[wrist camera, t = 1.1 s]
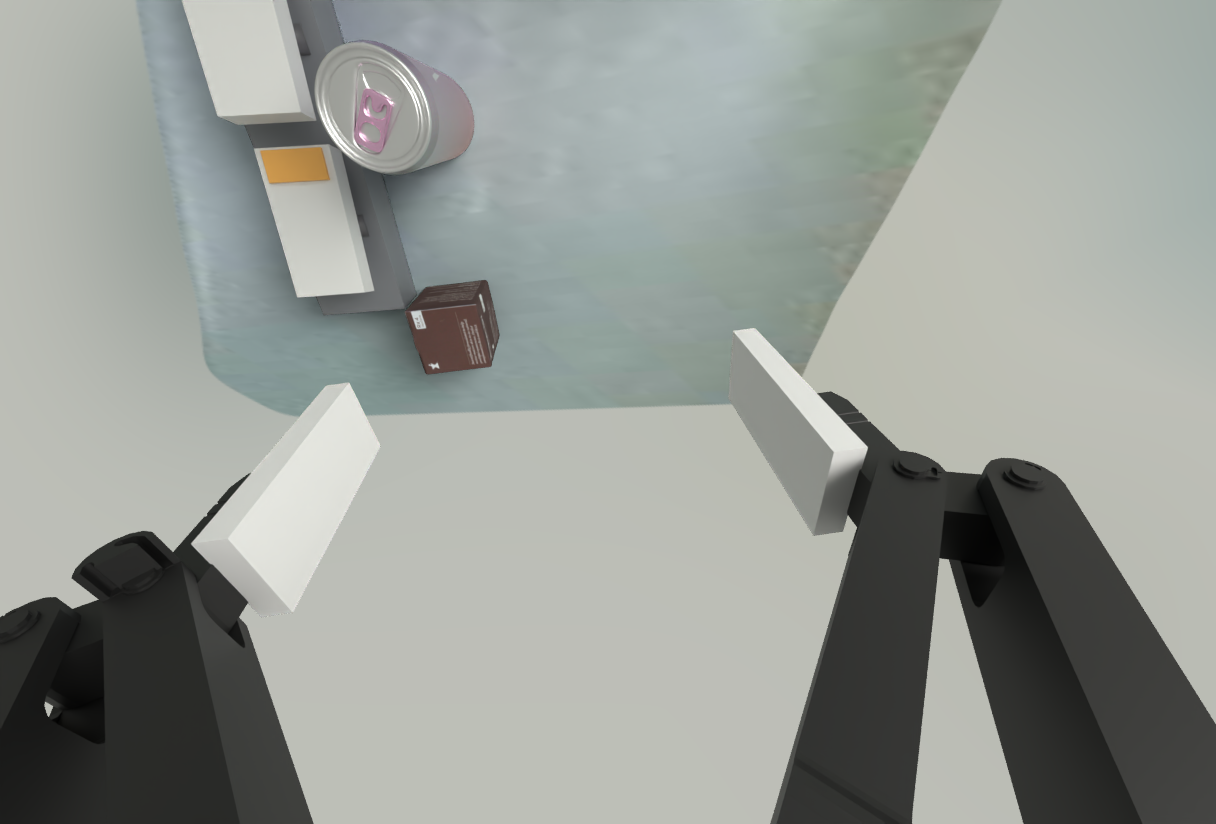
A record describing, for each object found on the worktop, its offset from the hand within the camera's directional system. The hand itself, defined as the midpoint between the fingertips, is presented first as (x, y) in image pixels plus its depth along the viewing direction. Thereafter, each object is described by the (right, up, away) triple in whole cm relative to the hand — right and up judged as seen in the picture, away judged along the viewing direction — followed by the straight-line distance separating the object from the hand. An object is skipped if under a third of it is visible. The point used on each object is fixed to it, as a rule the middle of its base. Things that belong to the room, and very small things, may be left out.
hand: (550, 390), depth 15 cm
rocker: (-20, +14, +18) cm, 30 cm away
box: (-12, +9, +29) cm, 33 cm away
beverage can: (-12, +23, +20) cm, 33 cm away
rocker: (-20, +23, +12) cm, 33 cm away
